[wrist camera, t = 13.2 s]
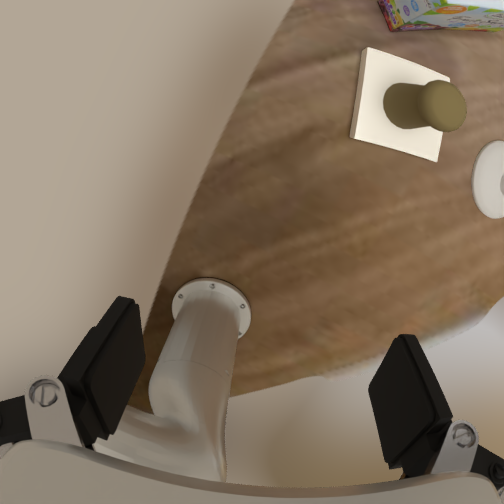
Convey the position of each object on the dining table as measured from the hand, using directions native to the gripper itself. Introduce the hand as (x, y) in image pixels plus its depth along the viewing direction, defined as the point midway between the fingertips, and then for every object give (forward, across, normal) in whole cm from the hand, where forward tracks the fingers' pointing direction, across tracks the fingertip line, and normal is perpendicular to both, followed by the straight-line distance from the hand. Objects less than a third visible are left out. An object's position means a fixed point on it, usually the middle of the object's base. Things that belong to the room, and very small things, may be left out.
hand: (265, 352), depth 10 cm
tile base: (+30, -15, -13) cm, 36 cm away
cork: (+28, -15, -13) cm, 34 cm away
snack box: (+31, -21, -30) cm, 48 cm away
